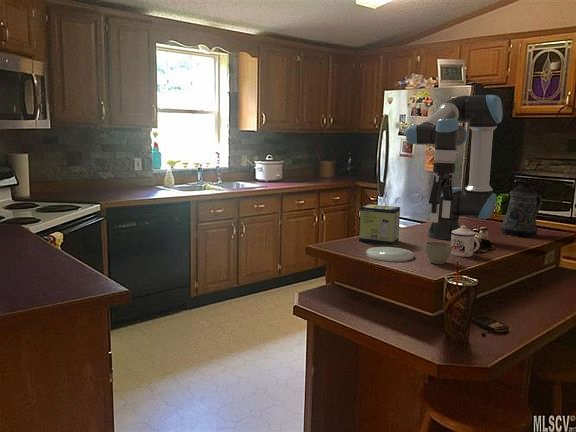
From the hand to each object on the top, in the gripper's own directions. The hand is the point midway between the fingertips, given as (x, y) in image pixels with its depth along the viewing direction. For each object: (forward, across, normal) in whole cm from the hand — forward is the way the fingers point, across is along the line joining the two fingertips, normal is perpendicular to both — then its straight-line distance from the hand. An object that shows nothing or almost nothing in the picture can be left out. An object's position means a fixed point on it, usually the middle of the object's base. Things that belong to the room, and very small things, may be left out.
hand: (439, 219), depth 185 cm
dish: (+16, +2, -18) cm, 24 cm away
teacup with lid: (+16, -19, +5) cm, 26 cm away
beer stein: (+16, -84, +14) cm, 87 cm away
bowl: (+16, 0, 0) cm, 16 cm away
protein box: (+16, -21, -33) cm, 43 cm away
